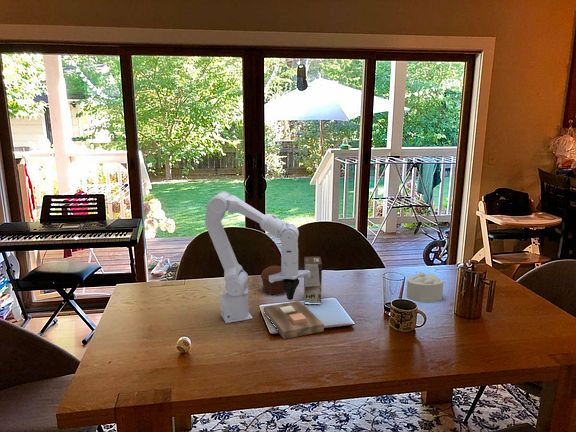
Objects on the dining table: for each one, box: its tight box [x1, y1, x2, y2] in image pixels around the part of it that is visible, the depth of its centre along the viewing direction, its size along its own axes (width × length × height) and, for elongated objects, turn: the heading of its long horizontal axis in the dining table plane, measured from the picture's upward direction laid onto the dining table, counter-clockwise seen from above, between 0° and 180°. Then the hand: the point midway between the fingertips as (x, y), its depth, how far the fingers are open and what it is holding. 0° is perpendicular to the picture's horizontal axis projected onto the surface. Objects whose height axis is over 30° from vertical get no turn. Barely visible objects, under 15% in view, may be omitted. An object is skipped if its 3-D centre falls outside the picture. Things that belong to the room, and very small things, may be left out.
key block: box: [263, 300, 325, 340], centre depth 153 cm, size 14×20×2 cm
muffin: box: [260, 265, 286, 296], centre depth 179 cm, size 12×11×10 cm
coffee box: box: [303, 256, 323, 304], centre depth 170 cm, size 9×6×16 cm
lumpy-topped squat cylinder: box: [405, 271, 444, 303], centre depth 173 cm, size 10×13×9 cm
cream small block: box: [279, 306, 296, 314], centre depth 157 cm, size 4×4×2 cm
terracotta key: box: [289, 313, 306, 325], centre depth 149 cm, size 4×4×2 cm
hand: (289, 298), depth 154 cm, fingers closed
